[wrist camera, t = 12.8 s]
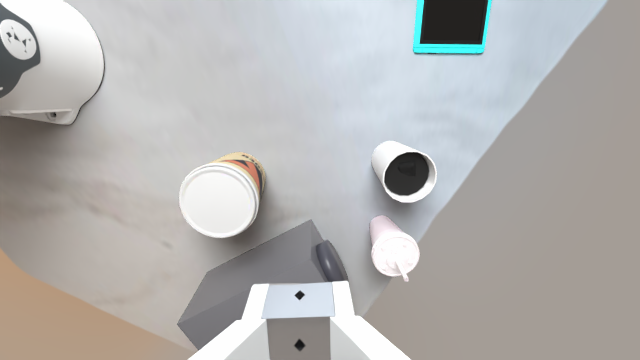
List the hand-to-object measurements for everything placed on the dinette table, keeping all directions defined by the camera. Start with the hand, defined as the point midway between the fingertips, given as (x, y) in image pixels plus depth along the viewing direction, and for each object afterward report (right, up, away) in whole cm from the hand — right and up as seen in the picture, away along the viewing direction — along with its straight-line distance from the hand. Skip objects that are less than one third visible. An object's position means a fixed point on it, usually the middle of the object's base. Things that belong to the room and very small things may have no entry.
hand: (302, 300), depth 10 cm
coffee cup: (-12, +4, +37) cm, 39 cm away
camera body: (-7, -11, +42) cm, 44 cm away
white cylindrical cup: (+11, +7, +37) cm, 39 cm away
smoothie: (+11, -4, +40) cm, 42 cm away
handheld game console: (+19, +29, +31) cm, 47 cm away
